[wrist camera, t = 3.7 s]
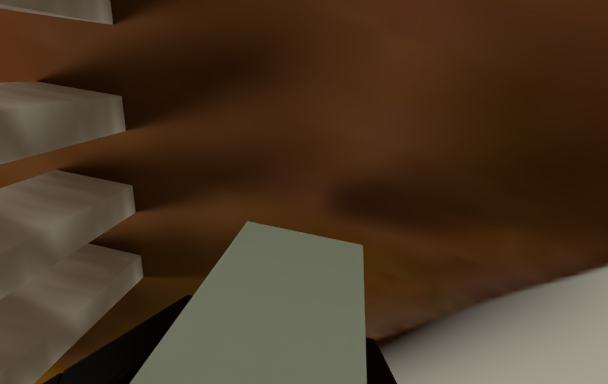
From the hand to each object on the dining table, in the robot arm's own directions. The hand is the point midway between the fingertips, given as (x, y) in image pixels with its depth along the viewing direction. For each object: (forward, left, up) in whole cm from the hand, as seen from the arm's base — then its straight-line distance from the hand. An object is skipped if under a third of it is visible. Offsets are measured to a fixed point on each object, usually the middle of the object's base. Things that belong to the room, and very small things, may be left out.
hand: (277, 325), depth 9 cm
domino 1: (-6, +13, -7) cm, 16 cm away
